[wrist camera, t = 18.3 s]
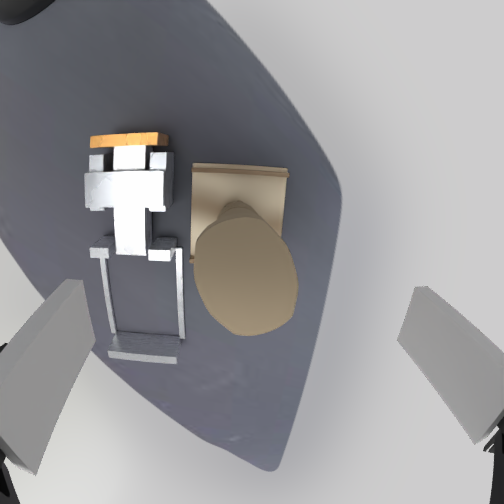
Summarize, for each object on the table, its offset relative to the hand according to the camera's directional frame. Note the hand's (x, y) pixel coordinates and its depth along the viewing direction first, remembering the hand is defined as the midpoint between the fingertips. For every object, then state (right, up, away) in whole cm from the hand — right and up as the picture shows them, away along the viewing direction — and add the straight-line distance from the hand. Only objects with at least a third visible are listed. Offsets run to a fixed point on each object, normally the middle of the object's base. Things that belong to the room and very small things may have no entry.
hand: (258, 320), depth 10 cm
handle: (-2, +6, +18) cm, 19 cm away
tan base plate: (-2, +6, +18) cm, 19 cm away
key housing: (-11, +10, +16) cm, 22 cm away
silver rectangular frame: (-12, -2, +20) cm, 24 cm away
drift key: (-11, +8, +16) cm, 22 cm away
